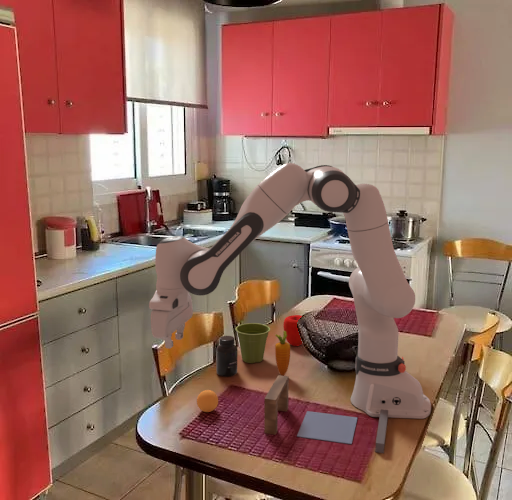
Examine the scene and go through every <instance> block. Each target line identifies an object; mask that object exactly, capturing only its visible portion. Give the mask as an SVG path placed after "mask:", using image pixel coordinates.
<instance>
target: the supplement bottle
mask: <svg viewBox="0 0 512 500" xmlns="http://www.w3.org/2000/svg"><path fill="white" fill-rule="evenodd" d="M215 351H216V354H215V355H216V356H215V357H216V360H215V362H216V374H217V375H218V376H220V377H225V378H226V377H227V378H228V377H233V376H235V375H237V373H238V346H236V344H235V337H234V336H232V335H221V336H220V337H219V341H218V345H217V347H216V350H215Z"/></svg>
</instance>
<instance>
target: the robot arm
mask: <svg viewBox="0 0 512 500" xmlns="http://www.w3.org/2000/svg"><path fill="white" fill-rule="evenodd" d="M306 201H307V202H308V201H311V202H312V203H313V204H314V205H316V207H318V209H320V210H322V211H324V212H327V213H341V214H343V216H344V219H345V223H346V224H345V225H346V229H347V235H348V241H349V243H350V244H349V245H350V250H351V254H352V257H353V259H354V260H355V262H356V264H357V265H358V266H357V267H356V268H355V269H354V270H353V271H352V272H351V274H350V276H349V279H348V287H349V289H350V292H351V294H352V297H353V302H354V303H353V304H354V307H355V309H354V310H355V314H356V320H357V326H358V327H357V328H358V329H357V331H358V332H357V333H358V336H357V337H358V340H357V342H358V345H357V353H356V356H355V374H356V375H355V381H354V386H353V390H352V393H351V397H350V403H351V404H352V405H353V406H354V407H356V408H357V409H359V410H361V411H363V412H365V414H367V415H368V416H369V417H372V418H380V411H381V409H383V410H388V418H396V419H397V418H398V419H399V418H400V419H418V420H419V419H426V418H428V417H429V416H430V415H431V412H432V405H431V400H430V398H429V397H428V396H427V395H425V394H424V390H423V387H422V385H421V383H420V381H419V380H418V379H417V378H415V377H414V376H413V375H412V374H411V373H409V372H408V371H407V369H406V368H407V366H406V364H405V359H404V357H403V356H401V357H400V355H398V354H399V353H398V352H399V351H398V349H399V334H400V333H399V329H398V326H397V324H396V321H395V319H401V318H404V317H406V316H408V315H409V314H410V313H411V311H412V310H413V309H414V307H415V304H416V294H415V291H414V289H413V288H412V286H411V285H410V283H409V282H408V280H407V278H406V276H405V273H404V271H403V269H402V267H401V263H400V262H399V261H400V260H399V258H398V257H397V254H396V251H395V248H394V245H393V240H392V234H391V229H390V224H389V220H388V214H387V210H386V207H385V204H384V201H383V198H382V195H381V193H380V190H379V189H378V188H377V187H376V186H375V185H373V184H370V183H359V184H355V183H354V181H353V180H352V179H351V178H350V177H349V175H347V174H345V172H343V171H342V170H341V169H339V168H338V167H334V166H332V165H327V164H325V165H324V164H321V165H317V166H314V167H311V168H306V169H304V168H302V167H301V166H300V165H298V164H296V163H293V162H286V163H283V164H282V165H281V166H278V168H276V169H274V170H272V172H271V173H269V174H268V175H267V176H266V177H265V178H263V180H262V181H261V182H259V183H258V184H257V185H256V186H255V187H254V188H253V189H252V190H251V192H249V194H248V195H247V197H246V198H245V200H244V201H243V203H242V204H241V207H240V209H239V211H238V213H237V216H236V218H235V220H234V222H233V223H232V224H231V226H230V227H229V229H228V230H227V231H225V233H224V234H223V235H222V236H221V237H220V238H219V239H218V240H217V241H216V242H215V243H214V244H213V245H212V246H211V247H205V246H201V245H198V244H196V243H194V242H192V241H190V240H188V239H187V238H186V237H185V236H182V235H175V236H174V235H173V236H170V237H167V238H163V239H162V240H160V241H159V243H157V245H156V247H155V256H154V257H155V258H154V260H155V265H154V267H155V273H156V276H157V279H156V283H155V286H156V287H155V288H156V290H155V291H154V294H153V296H152V298H151V299H150V300H149V303H148V305H149V306H148V307H149V310H151V312H150V327H151V328H150V329H151V334H152V337H154V339H159V340H163V341H164V347H165V348H166V349H171V348H173V347H174V340H172V336H173V335H172V334H173V333H174V332H175V334H174V335H175V339H176V340H180V341H181V340H182V339H183V338H184V332H185V327H186V323H187V322H188V321H189V320H190V319H192V317H193V313H194V309H193V299H192V295H195V296H207V295H210V294H212V292H214V291H215V290H216V289H217V287H218V286H219V283H220V282H221V278H222V276H223V274H224V272H225V270H226V269H227V267H229V266H230V265H231V264H232V262H233V261H234V260H235V259H236V258H237V257H238V256H239V255H240V254H241V253H242V252H243V251H244V250H245V249H246V248H248V246H249V245H250V244H252V242H254V241H255V240H257V239H258V238H259V237H261V236H262V235H263V234H265V233H266V232H267V231H269V230H271V229H272V228H273V227H274V226H276V225H277V224H278V223H280V222H281V221H282V220H283V219H284V218H286V216H287V215H288V214H290V212H291V211H292V210H293V209H294V208H295V207H296V206H298V205H299V204H301V203H303V202H306ZM191 294H192V295H191Z"/></svg>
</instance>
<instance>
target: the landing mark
mask: <svg viewBox="0 0 512 500" xmlns="http://www.w3.org/2000/svg"><path fill="white" fill-rule="evenodd" d="M357 422H358V417H356V416H348V415H341V414H334V413H325V412H318V411H317V412H316V411H312V410H311V411H309V410H307V411H306V412H305V415H304V418H303V420H302V422H301V425H300V427H299V430H298V432H297V434H296V437H297V438H304V439H311V440H318V441H326V442H333V443H339V444H346V445H352V443H353V440H354V435H355V431H356V426H357Z"/></svg>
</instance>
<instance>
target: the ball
mask: <svg viewBox="0 0 512 500" xmlns="http://www.w3.org/2000/svg"><path fill="white" fill-rule="evenodd" d="M196 404H197V407H198V409H199V410H200V411H201V412H204V413H209V412H213V411H214V410H216V408H217V407H218V405H219V397H218V395H217V393H216V392H215V391H214V390H212V389H211V390H210V389H206V390H202V391H201V392H200V393H199V394H198V395H197V398H196Z"/></svg>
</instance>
